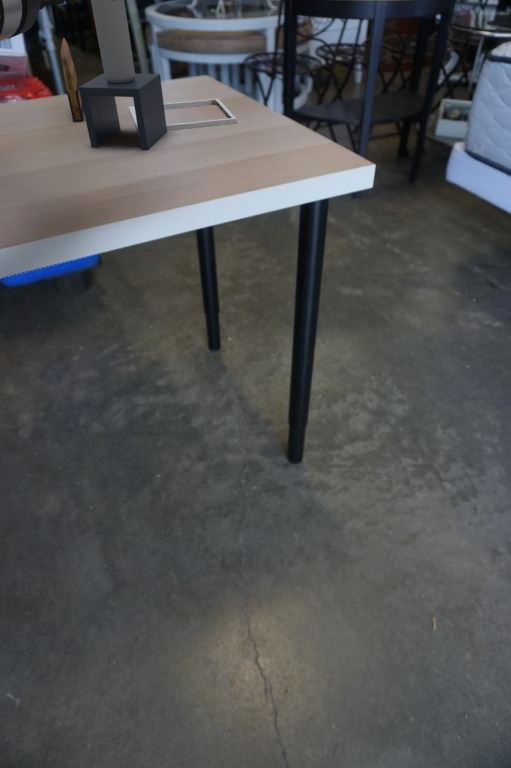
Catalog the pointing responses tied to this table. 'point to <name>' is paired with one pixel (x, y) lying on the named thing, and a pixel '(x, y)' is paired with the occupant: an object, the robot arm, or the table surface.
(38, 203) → the table surface
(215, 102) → the photo frame
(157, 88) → the shelf
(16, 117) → the table surface
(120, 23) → the beverage can
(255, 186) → the table surface
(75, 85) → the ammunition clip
